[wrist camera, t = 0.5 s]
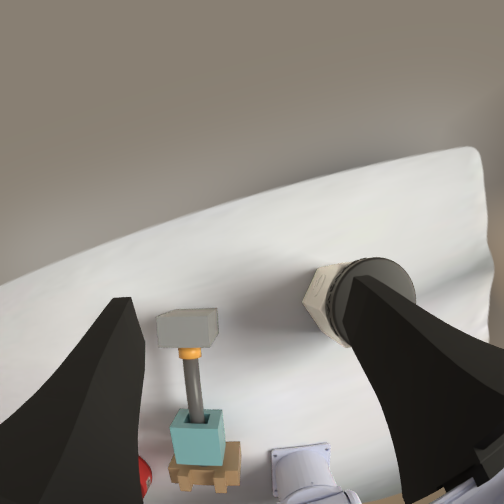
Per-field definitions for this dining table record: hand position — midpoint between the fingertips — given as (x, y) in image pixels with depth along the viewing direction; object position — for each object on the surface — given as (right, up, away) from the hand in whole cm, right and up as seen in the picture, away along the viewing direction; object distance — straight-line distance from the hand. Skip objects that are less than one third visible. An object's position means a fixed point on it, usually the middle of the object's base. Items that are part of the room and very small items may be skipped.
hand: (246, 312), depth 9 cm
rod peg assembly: (-6, -16, +24) cm, 29 cm away
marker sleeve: (-6, -19, +21) cm, 29 cm away
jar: (+11, -4, +26) cm, 28 cm away
